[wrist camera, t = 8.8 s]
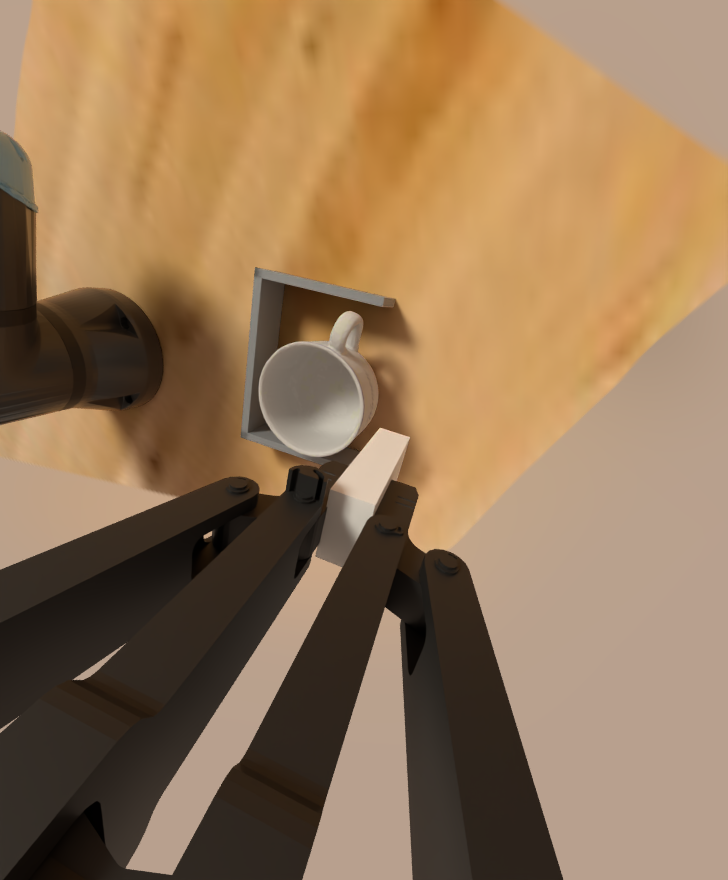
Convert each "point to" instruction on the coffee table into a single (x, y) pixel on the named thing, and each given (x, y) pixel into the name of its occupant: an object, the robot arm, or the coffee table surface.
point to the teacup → (320, 391)
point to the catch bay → (265, 345)
